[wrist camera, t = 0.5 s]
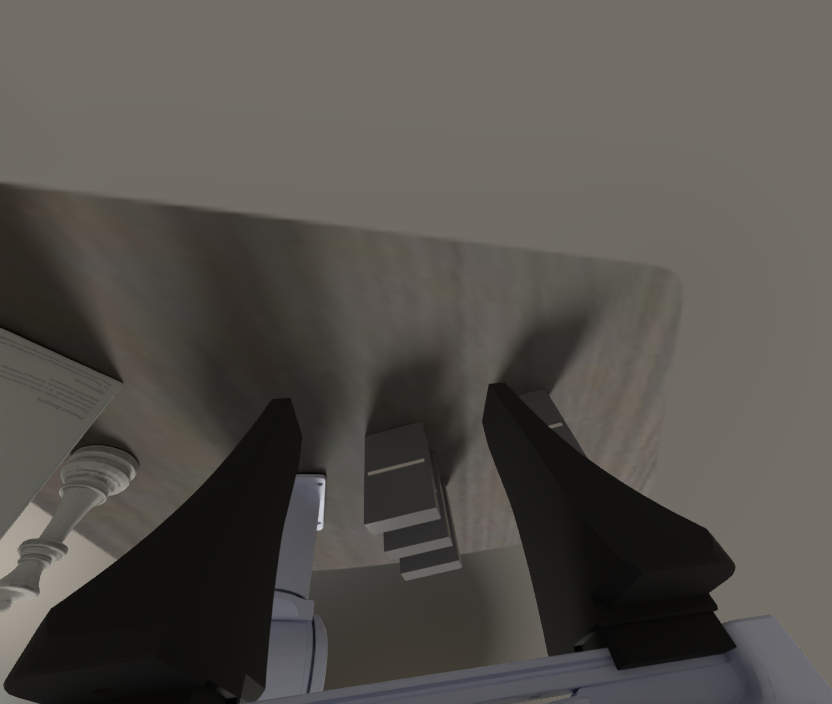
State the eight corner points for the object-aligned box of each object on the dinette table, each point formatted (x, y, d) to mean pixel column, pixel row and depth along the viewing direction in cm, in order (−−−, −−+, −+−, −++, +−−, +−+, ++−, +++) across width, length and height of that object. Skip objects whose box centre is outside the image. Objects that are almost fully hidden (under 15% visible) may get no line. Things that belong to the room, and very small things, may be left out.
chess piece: (131, 445, 26) (27, 596, 18) (146, 478, 29) (59, 623, 21) (64, 442, 25) (-77, 600, 17) (85, 477, 28) (-30, 629, 20)
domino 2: (437, 462, 32) (453, 546, 26) (386, 475, 32) (390, 560, 26) (433, 452, 31) (448, 536, 25) (381, 465, 31) (384, 551, 25)
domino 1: (426, 433, 29) (441, 519, 23) (371, 447, 29) (371, 535, 23) (421, 420, 28) (435, 506, 22) (364, 435, 28) (363, 524, 22)
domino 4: (544, 402, 28) (591, 481, 22) (487, 416, 29) (518, 499, 23) (544, 387, 27) (593, 467, 21) (484, 403, 28) (516, 486, 22)
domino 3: (446, 487, 35) (462, 567, 29) (399, 498, 35) (405, 580, 29) (443, 478, 33) (459, 560, 28) (395, 490, 34) (400, 573, 28)
